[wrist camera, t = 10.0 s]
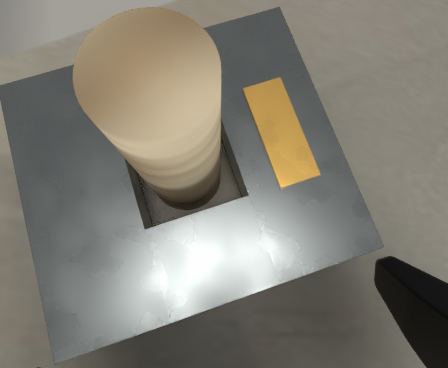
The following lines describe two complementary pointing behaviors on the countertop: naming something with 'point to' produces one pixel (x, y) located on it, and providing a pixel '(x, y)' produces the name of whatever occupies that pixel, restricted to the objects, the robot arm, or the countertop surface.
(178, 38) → the barrel peg
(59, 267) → the grey peg hole board
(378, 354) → the countertop surface
